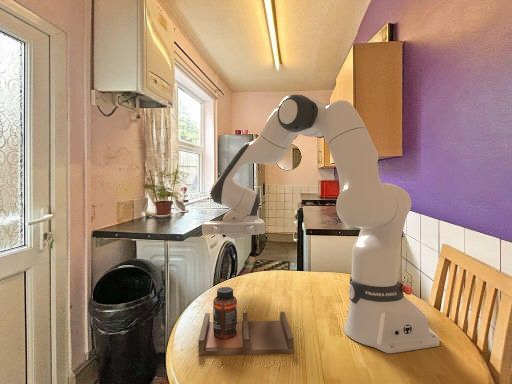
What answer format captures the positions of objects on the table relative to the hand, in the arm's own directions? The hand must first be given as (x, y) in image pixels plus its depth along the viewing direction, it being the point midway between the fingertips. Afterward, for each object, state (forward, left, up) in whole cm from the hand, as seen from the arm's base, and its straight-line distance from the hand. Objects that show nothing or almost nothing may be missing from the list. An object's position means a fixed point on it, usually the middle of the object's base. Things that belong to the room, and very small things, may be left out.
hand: (233, 231), depth 93 cm
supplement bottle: (+2, +17, -23) cm, 29 cm away
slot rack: (-3, +17, -24) cm, 30 cm away
